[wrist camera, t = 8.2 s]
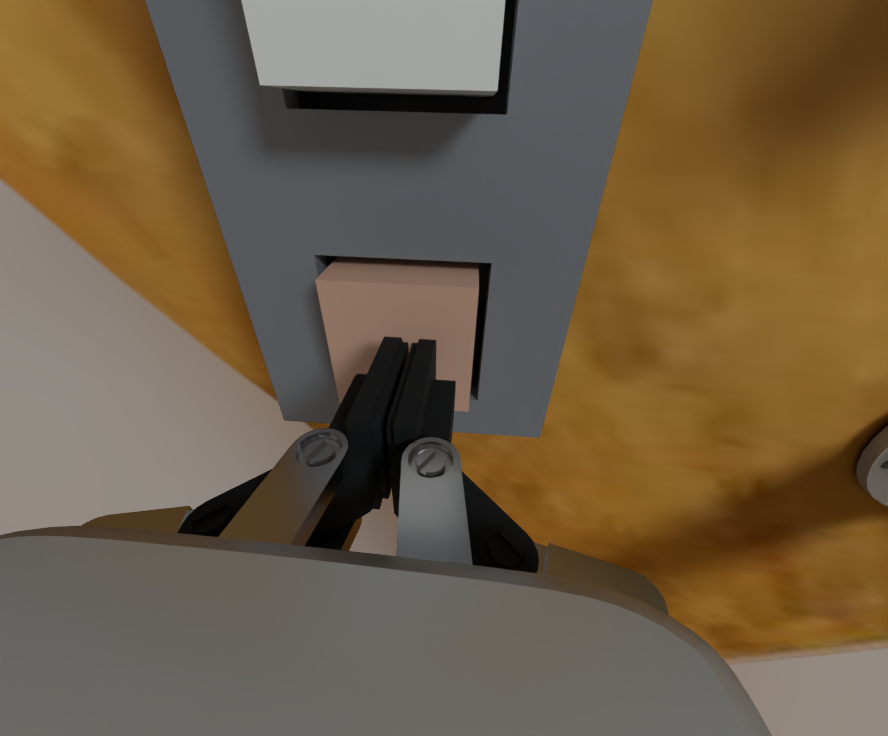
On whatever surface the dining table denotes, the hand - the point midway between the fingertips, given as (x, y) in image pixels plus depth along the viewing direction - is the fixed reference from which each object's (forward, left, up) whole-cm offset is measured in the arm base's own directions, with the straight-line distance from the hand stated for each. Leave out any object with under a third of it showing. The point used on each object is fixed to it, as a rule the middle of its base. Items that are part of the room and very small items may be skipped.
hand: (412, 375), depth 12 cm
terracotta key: (+1, 0, -6) cm, 6 cm away
